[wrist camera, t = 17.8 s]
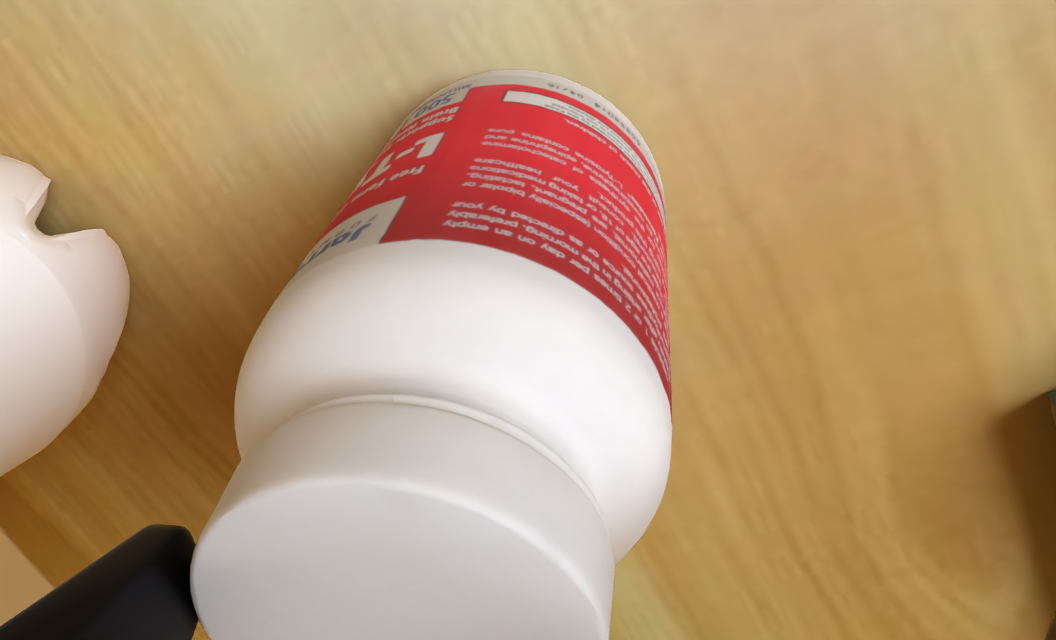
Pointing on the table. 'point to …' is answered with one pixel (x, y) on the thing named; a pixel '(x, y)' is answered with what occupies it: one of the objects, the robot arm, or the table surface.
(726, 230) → the table surface
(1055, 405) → the teal rectangular base
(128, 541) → the robot arm
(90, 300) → the water bottle
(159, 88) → the table surface
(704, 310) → the table surface
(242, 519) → the pill bottle
